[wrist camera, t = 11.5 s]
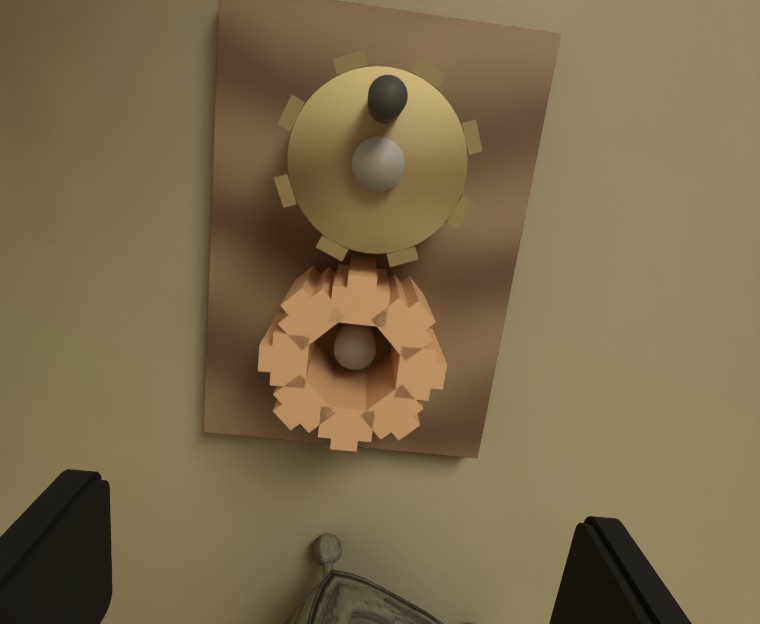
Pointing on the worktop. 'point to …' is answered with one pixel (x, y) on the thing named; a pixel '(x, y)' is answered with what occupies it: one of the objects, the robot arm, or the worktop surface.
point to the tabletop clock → (351, 597)
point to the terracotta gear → (342, 385)
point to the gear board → (291, 239)
